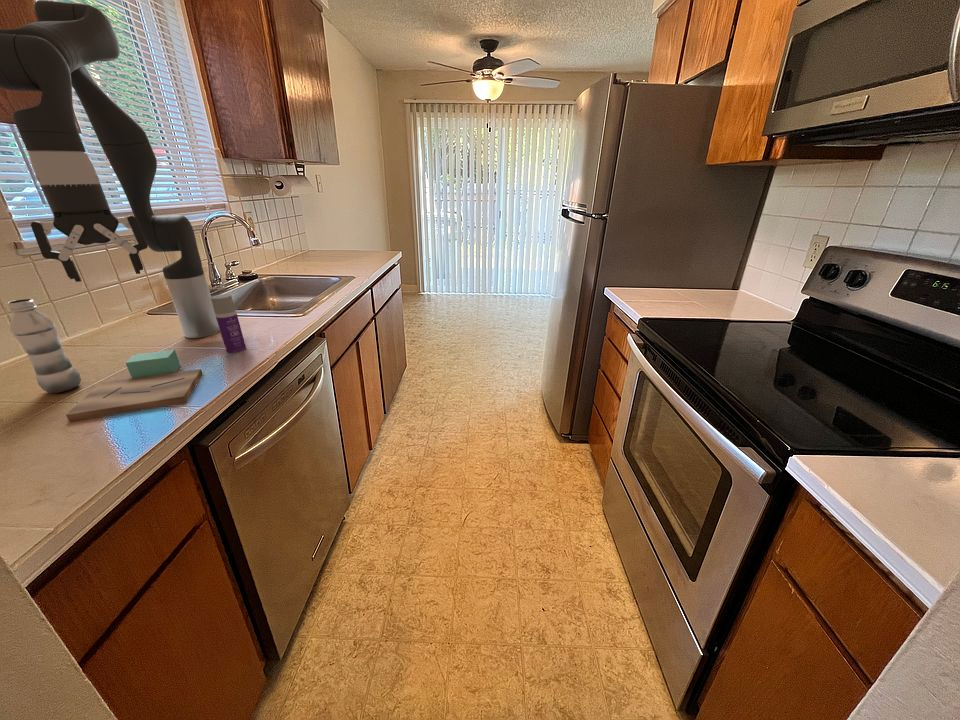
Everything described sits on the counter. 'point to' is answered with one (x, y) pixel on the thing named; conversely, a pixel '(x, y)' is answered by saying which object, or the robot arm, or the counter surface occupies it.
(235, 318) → the container
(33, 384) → the counter surface
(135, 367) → the block
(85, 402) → the oak board
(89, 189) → the robot arm
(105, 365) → the counter surface
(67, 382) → the plastic bottle
